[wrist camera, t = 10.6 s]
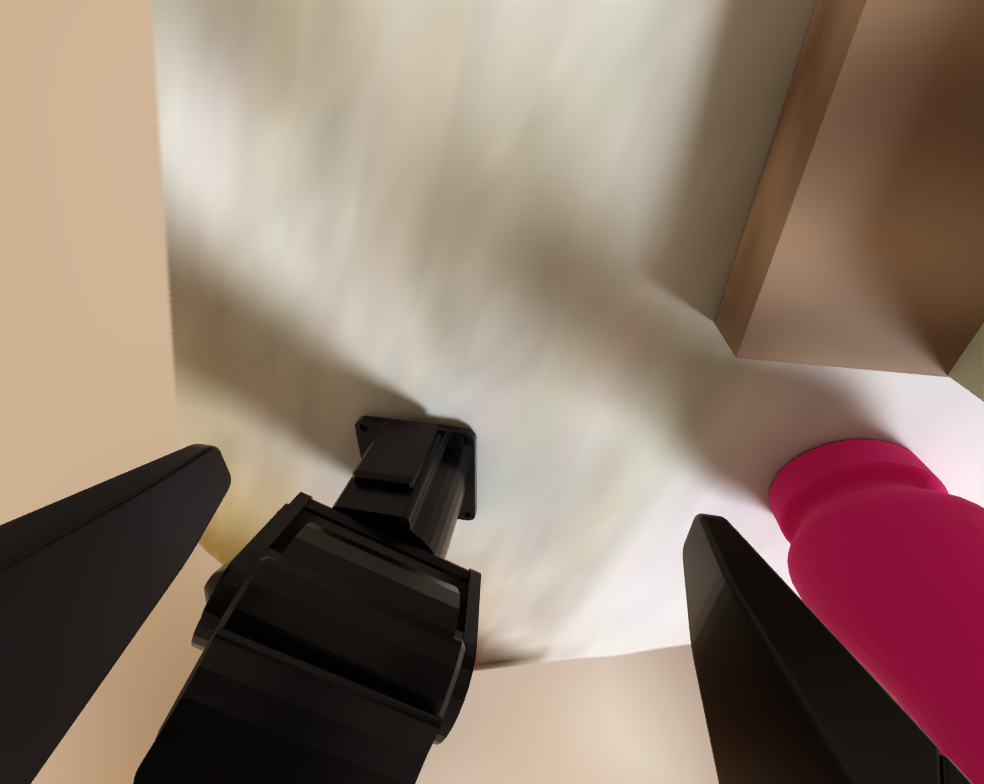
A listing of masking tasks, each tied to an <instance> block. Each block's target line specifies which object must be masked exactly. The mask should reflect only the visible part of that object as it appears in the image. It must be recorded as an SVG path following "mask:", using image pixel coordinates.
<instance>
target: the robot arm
mask: <svg viewBox="0 0 984 784" xmlns="http://www.w3.org/2000/svg"><path fill="white" fill-rule="evenodd" d="M363 424H364V425H366V426H368V427H365V426H364V425H363ZM355 428H356V434H357V439H358V444H359V449H360V454H361V460H360V462H359V463H358V465H357V467H356V468H355V470H354V472H353V476H352V477H351V479H350V480H349V482H348V483H347V485H346V487H345V488H344V490H343V491H342V493H341V495H340V496H339V498H338V499H337V501H336V502H335V504H334V506H333V507H332V508H330V507H328V506H326V505H324V504H321V503H319V502H317V501H315V500H313V499H312V498H313V497H311V496H309V495H307V494H305V493H302V492H300V493H299V494H298V495H297V496H296V497H295V498H294V499H293V500H292V502H291V503H290V504H287V503H286V504H285V505H284V506H283V507H282V508H281V509H280V510H279V511H278V512H277V513H276V515H275V516H274V517H273V518H272V519H271V520H270V521H269V522H268V523H267V524H266V525H265V526H264V527H263V528H262V529H261V530H260V531H259V533H258V534H257V535H256V536H255V537H254V538H253V539H252V540H251V541H250V542H249V543H248V544H247V545H246V546H245V547H244V548H243V549H242V551H241V552H240V553H239V554H237V555H236V556H235V557H234V558H232V559H231V560H230V561H229V562H227V563H226V564H225V565H223V566H222V567H221V568H220V569H218V570H217V571H216V572H215V573H213V575H212V576H211V577H210V578H209V580H208V581H207V583H206V585H205V587H204V592H205V598H206V606H205V608H204V610H203V613H202V616H201V619H200V621H199V623H198V625H197V627H196V629H195V632H194V634H193V638H192V646H193V647H195V648H198V649H200V650H203V653H202V655H201V656H200V658H199V660H198V662H197V663H196V665H195V667H194V669H193V671H192V672H191V674H190V676H189V678H188V680H187V681H186V683H185V685H184V687H183V689H182V690H181V692H180V694H179V696H178V697H177V699H176V701H175V703H174V705H173V706H172V709H171V710H170V712H169V714H168V716H167V717H166V719H165V721H164V723H163V724H162V726H161V728H160V730H159V732H158V735H157V737H156V740H155V742H154V743H153V745H152V747H151V748H150V750H149V751H148V753H147V755H146V757H145V758H144V759H143V761H142V763H141V764H140V766H139V768H138V770H137V772H136V775H135V778H134V783H133V784H415V783H416V780H417V778H418V775H419V773H420V771H421V768H422V766H423V763H424V761H425V759H426V756H427V754H428V752H429V750H430V748H431V746H432V744H436V745H437V744H440V743H441V742H442V741H443V740H444V739H445V738H446V737H447V735H448V734H449V732H450V731H451V729H452V727H453V725H454V723H455V721H456V719H457V717H458V715H459V712H460V710H461V707H462V705H463V703H464V700H465V697H466V694H467V691H468V688H469V684H470V680H471V676H472V673H473V668H474V663H475V658H476V649H477V634H478V618H479V601H480V584H481V573H479V572H477V571H475V570H472V569H469V570H467V569H465V568H463V567H461V566H458V565H456V564H454V563H452V562H450V561H447V560H445V557H446V554H447V551H448V547H449V544H450V541H451V538H452V534H453V531H454V528H455V525H456V521H457V519H462V520H473V519H474V518H475V515H476V511H477V477H476V434H475V433H474V432H473V431H472V430H470V429H467V428H459V427H450V426H442V425H434V424H426V423H418V422H410V421H401V420H393V419H385V418H377V417H369V416H362V417H360V418H359V420H358V421H357V423H356V424H355ZM463 437H467V438H468V439H470V440H466V439H464V438H463ZM230 484H231V476H230V473H229V471H228V468H227V466H226V463H225V461H224V459H223V456H222V454H221V452H220V450H219V449H218V448H217V447H215V446H211V445H204V444H193V445H190V446H188V447H185V448H183V449H180V450H178V451H176V452H173V453H171V454H169V455H166V456H164V457H162V458H159V459H157V460H154V461H152V462H150V463H147V464H145V465H142V466H140V467H138V468H135V469H133V470H131V471H128V472H126V473H124V474H121V475H119V476H116V477H114V478H112V479H109V480H107V481H104V482H102V483H100V484H97V485H95V486H93V487H90V488H88V489H85V490H83V491H81V492H78V493H76V494H74V495H71V496H69V497H66V498H64V499H62V500H60V501H57V502H55V503H52V504H50V505H48V506H45V507H43V508H40V509H38V510H36V511H33V512H31V513H28V514H27V515H24V516H21V517H19V518H17V519H14V520H12V521H10V522H7V523H5V524H2V525H0V784H31V783H32V781H33V780H34V778H35V777H36V776H37V774H38V773H39V771H40V770H41V768H42V767H43V765H44V764H45V763H46V761H47V760H48V758H49V757H50V755H51V754H52V753H53V751H54V750H55V748H56V747H57V746H58V744H59V743H60V741H61V740H62V738H63V737H64V736H65V734H66V732H67V731H68V730H69V729H70V727H71V726H72V724H73V723H74V721H75V720H76V718H77V717H78V716H79V714H80V713H81V711H82V710H83V709H84V707H85V706H86V704H87V703H88V701H89V700H90V699H91V697H92V696H93V694H94V693H95V691H96V690H97V689H98V687H99V686H100V684H101V683H102V681H103V680H104V679H105V677H106V676H107V674H108V673H109V671H110V670H111V669H112V667H113V666H114V664H115V663H116V661H117V660H118V659H119V657H120V656H121V654H122V653H123V652H124V650H125V649H126V647H127V646H128V644H129V643H130V642H131V640H132V639H133V637H134V636H135V634H136V633H137V632H138V630H139V629H140V627H141V626H142V624H143V623H144V622H145V620H146V619H147V617H148V616H149V614H150V613H151V611H152V610H153V609H154V607H155V606H156V604H157V603H158V601H159V600H160V599H161V597H162V596H163V594H164V593H165V592H166V590H167V589H168V587H169V586H170V584H171V583H172V582H173V580H174V579H175V577H176V576H177V575H178V573H179V572H180V570H181V569H182V567H183V566H184V564H185V563H186V561H187V560H188V558H189V557H190V555H191V553H192V552H193V550H194V548H195V547H196V545H197V543H198V542H199V540H200V538H201V536H202V535H203V533H204V531H205V529H206V528H207V526H208V524H209V522H210V521H211V519H212V517H213V515H214V514H215V512H216V510H217V509H218V507H219V505H220V503H221V502H222V500H223V498H224V496H225V495H226V493H227V491H228V489H229V487H230ZM466 511H467V512H466ZM683 565H684V576H685V587H686V598H687V608H688V619H689V630H690V639H691V648H692V653H693V659H694V665H695V669H696V674H697V679H698V684H699V689H700V694H701V699H702V703H703V708H704V713H705V718H706V723H707V727H708V733H709V737H710V742H711V747H712V751H713V757H714V762H715V766H716V771H717V776H718V781H719V784H973V783H972V782H971V781H970V780H969V779H968V778H967V777H966V776H965V775H964V774H963V773H962V772H961V770H960V769H959V768H958V767H957V766H956V765H955V764H954V763H953V762H952V761H951V760H950V759H949V758H948V757H947V756H946V755H943V754H940V750H939V748H938V746H937V745H936V744H935V743H934V742H933V741H932V740H931V739H930V738H929V736H928V735H927V734H926V733H925V732H924V731H923V730H922V729H921V728H920V727H919V726H918V725H917V724H916V722H915V721H914V720H913V719H912V718H911V717H910V716H909V715H908V714H907V713H906V712H905V711H904V710H903V709H902V707H901V706H900V705H899V704H898V703H897V702H896V701H895V700H894V699H893V698H892V697H891V696H890V695H889V693H887V691H886V690H885V689H884V688H883V687H882V686H881V685H880V684H879V683H878V682H877V681H876V679H875V678H874V677H873V676H872V675H871V674H870V673H869V672H868V671H867V670H866V669H865V668H864V667H863V666H862V664H861V663H860V662H859V661H858V660H857V659H856V658H855V657H854V656H853V655H852V654H851V653H850V652H849V650H848V649H847V648H846V647H845V646H844V645H843V644H842V643H841V642H840V641H839V640H838V639H837V638H836V637H835V635H834V634H833V633H832V632H831V631H830V630H829V629H828V628H827V627H826V626H825V625H824V624H823V623H822V621H821V620H820V619H819V618H818V617H817V616H816V615H815V614H814V613H813V612H812V611H811V610H810V609H809V608H808V606H807V605H806V604H805V603H804V602H803V601H802V600H801V599H800V598H799V597H798V596H797V595H796V594H795V592H794V591H793V590H792V589H791V588H790V587H789V586H788V585H787V584H786V583H785V582H784V581H783V580H782V578H781V577H780V576H779V575H778V574H777V573H776V572H775V571H774V570H773V569H772V568H771V567H770V566H769V565H768V563H767V562H766V561H765V560H764V559H763V558H762V557H761V556H760V555H759V554H758V553H757V552H756V551H755V549H754V548H753V547H752V546H751V545H750V544H749V543H748V542H747V541H746V540H745V539H744V538H743V537H742V536H741V534H740V533H739V532H738V531H737V530H736V529H735V528H734V527H733V526H732V525H731V524H730V523H729V522H728V521H727V520H726V519H725V518H723V517H721V516H716V515H708V514H698V515H697V516H696V517H695V518H694V520H693V523H692V525H691V528H690V530H689V533H688V535H687V538H686V540H685V543H684V547H683Z"/></svg>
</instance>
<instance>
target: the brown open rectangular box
mask: <svg viewBox="0 0 984 784" xmlns="http://www.w3.org/2000/svg"><path fill="white" fill-rule="evenodd" d="M714 323H715V325H716V326H717V328H718V329H719V331H720V333H721V334H722V336H723V337H724V339H725V341H726V342H727V344H728V345H729V347H730V348H731V350H732V352H733V353H734V355H735V356H736V358H747V359H758V360H769V361H779V362H790V363H801V364H812V365H823V366H834V367H845V368H856V369H867V370H878V371H889V372H899V373H910V374H921V375H932V376H943V377H949V376H948V374H949V373H950V371H951V370H952V368H953V367H954V365H955V364H956V363H957V361H958V360H959V358H960V357H961V355H962V354H963V352H964V351H965V349H966V348H967V346H968V345H969V344H970V342H971V341H972V339H973V338H974V336H975V335H976V333H977V332H978V330H979V329H980V327H981V326H982V324H983V323H984V0H817V2H816V5H815V8H814V12H813V15H812V18H811V21H810V24H809V27H808V30H807V34H806V37H805V40H804V43H803V46H802V49H801V52H800V56H799V59H798V62H797V65H796V68H795V71H794V74H793V77H792V81H791V84H790V87H789V90H788V93H787V96H786V99H785V103H784V106H783V109H782V112H781V115H780V118H779V121H778V125H777V128H776V131H775V134H774V137H773V140H772V143H771V147H770V150H769V153H768V156H767V159H766V162H765V165H764V168H763V172H762V175H761V178H760V181H759V184H758V187H757V190H756V194H755V197H754V200H753V203H752V206H751V209H750V212H749V216H748V219H747V222H746V225H745V228H744V231H743V234H742V238H741V241H740V244H739V247H738V250H737V253H736V256H735V260H734V263H733V266H732V269H731V272H730V275H729V278H728V281H727V285H726V288H725V291H724V294H723V297H722V300H721V303H720V307H719V310H718V313H717V316H716V319H715V322H714Z"/></svg>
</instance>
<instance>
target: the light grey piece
mask: <svg viewBox="0 0 984 784" xmlns="http://www.w3.org/2000/svg"><path fill="white" fill-rule="evenodd" d="M948 376H949V377H950V378H952V379H953V380H955V381H956V382H957V383H959V384H960V385H962V386H963V387H964V388H966V389H967V390H969V391H970V392H971V393H973V394H974V395H976V396H977V397H978V398H980V399H981V400H983V401H984V323H983V324H982V326H981V327H980V329H979V330H978V332H977V333H976V335H975V336H974V338H973V339H972V341H971V342H970V344H969V345H968V346H967V348H966V349H965V351H964V352H963V354H962V355H961V357H960V358H959V360H958V361H957V363H956V364H955V365H954V367H953V368H952V370H951V371H950V373H949V374H948Z"/></svg>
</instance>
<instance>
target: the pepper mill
mask: <svg viewBox="0 0 984 784" xmlns="http://www.w3.org/2000/svg"><path fill="white" fill-rule="evenodd" d="M769 502H770V507H771V510H772V512H773V514H774V516H775V518H776V520H777V522H778V525H779V527H780V529H781V531H782V533H783V534H784V536H785V538H786V539H787V540H788V541H789V542H790V544H791V545H790V549H789V553H788V561H787V562H788V569H789V574H790V577H791V580H792V583H793V585H794V587H795V588H796V590H797V592H798V594H799V595H800V597H801V599H802V601H803V602H804V603H805V604H806V605H807V606H808V608H809V609H810V610H811V611H812V612H813V613H814V614H815V615H816V616H817V617H818V618H819V619H820V620H821V621H822V623H823V624H824V625H825V626H826V627H827V628H828V629H829V630H830V631H831V632H832V633H833V634H834V635H835V637H836V638H837V639H838V640H839V641H840V642H841V643H842V644H843V645H844V646H845V647H846V648H847V649H848V650H849V652H850V653H851V654H852V655H853V656H854V657H855V658H856V659H857V660H858V661H859V662H860V663H861V664H862V666H863V667H864V668H865V669H866V670H867V671H868V672H869V673H870V674H871V675H872V676H873V677H874V678H875V679H876V680H877V681H878V682H879V683H880V684H881V685H882V686H883V687H884V688H885V689H886V690H887V691H888V692H889V693H890V694H891V695H892V696H893V697H894V698H895V699H896V701H897V702H898V703H899V704H900V706H901V707H902V708H903V709H904V711H905V712H906V713H907V714H908V715H909V716H910V717H911V718H912V719H913V720H914V721H915V722H916V724H917V725H918V726H919V727H920V728H921V729H922V730H923V731H924V732H925V733H926V734H927V735H928V736H929V738H930V739H931V740H932V741H933V742H934V743H935V744H936V745H937V746H938V748H939V750H940V754H943V755H946V756H947V757H948V758H949V759H950V760H951V761H952V762H953V763H954V764H955V765H956V766H957V767H958V768H959V769H960V770H961V772H962V773H963V774H964V775H965V776H966V777H967V778H968V779H969V780H970V781H971V782H972V783H973V784H984V508H983V507H981V506H979V505H977V504H975V503H973V502H970V501H968V500H966V499H963V498H961V497H958V496H954V495H950V494H948V492H947V490H946V488H945V486H944V485H943V483H942V482H941V481H940V480H939V479H938V478H937V477H936V476H935V475H934V474H933V473H932V472H931V471H930V470H929V469H928V467H927V466H926V465H925V464H924V463H923V462H922V461H921V460H920V459H919V458H918V457H917V456H916V455H915V454H913V453H912V452H910V451H909V450H907V449H905V448H903V447H901V446H899V445H896V444H893V443H889V442H885V441H878V440H871V439H858V440H843V441H839V442H834V443H830V444H826V445H823V446H820V447H818V448H815V449H812V450H809V451H807V452H806V453H804V454H802V455H801V456H799V457H797V458H796V459H794V460H792V461H791V462H789V463H788V464H787V465H786V466H785V467H784V468H783V469H782V471H781V472H780V473H779V474H778V475H777V476H776V477H775V479H774V481H773V483H772V486H771V488H770V492H769Z"/></svg>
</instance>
